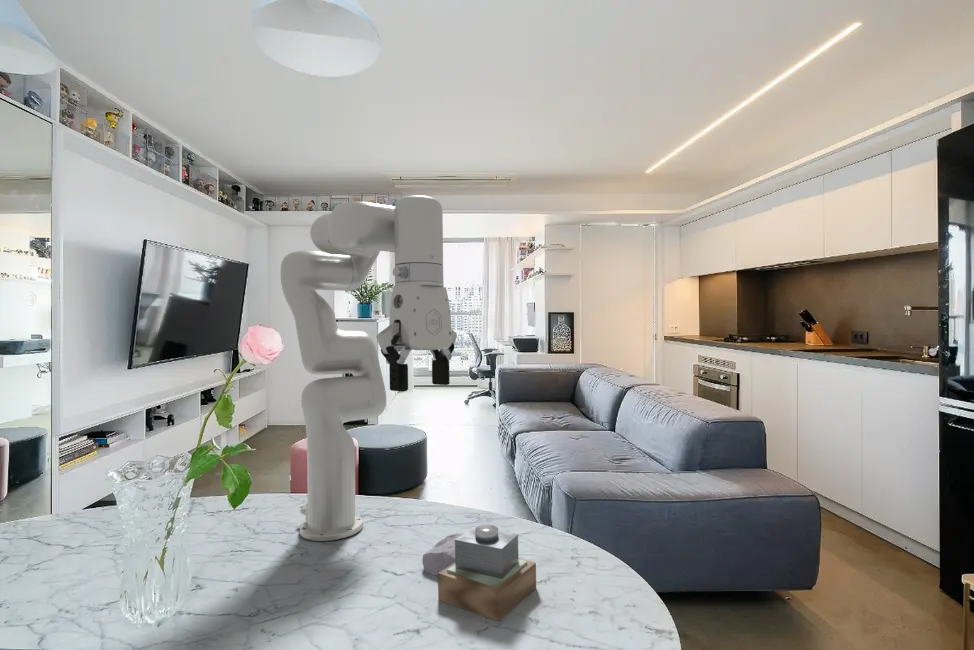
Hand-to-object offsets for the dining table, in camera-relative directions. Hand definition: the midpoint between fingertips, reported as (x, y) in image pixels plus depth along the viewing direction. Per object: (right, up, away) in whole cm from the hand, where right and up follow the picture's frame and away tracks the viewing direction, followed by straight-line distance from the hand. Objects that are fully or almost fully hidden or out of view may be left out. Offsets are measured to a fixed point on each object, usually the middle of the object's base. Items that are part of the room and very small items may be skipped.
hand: (420, 387), depth 79 cm
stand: (+10, -32, 0) cm, 34 cm away
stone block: (+5, -33, +11) cm, 35 cm away
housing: (+10, -28, 0) cm, 30 cm away
